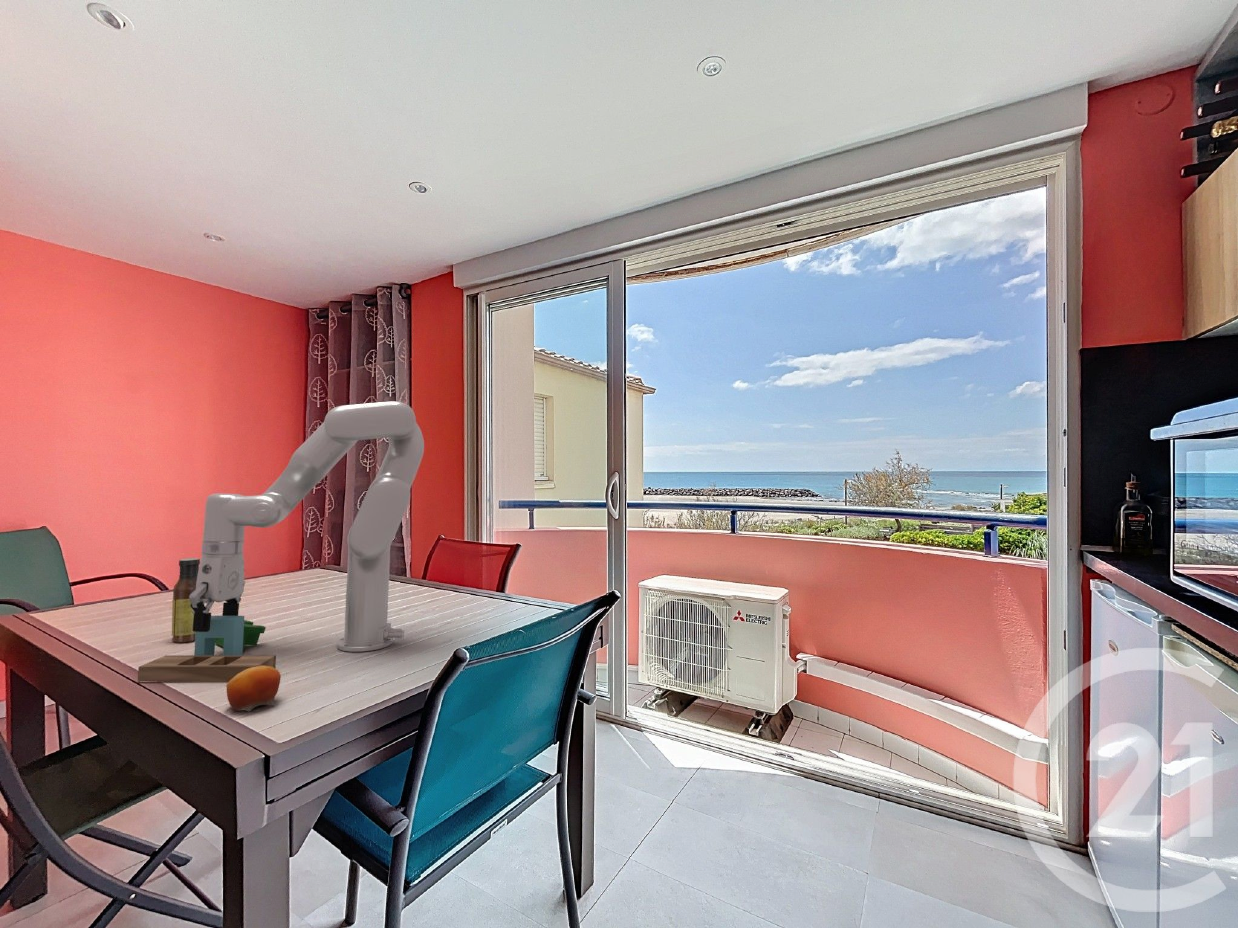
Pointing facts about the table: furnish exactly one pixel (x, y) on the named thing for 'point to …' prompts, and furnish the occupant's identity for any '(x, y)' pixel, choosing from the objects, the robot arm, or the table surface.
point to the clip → (221, 636)
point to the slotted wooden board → (201, 667)
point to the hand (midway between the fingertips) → (216, 625)
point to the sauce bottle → (184, 601)
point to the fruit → (253, 687)
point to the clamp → (247, 634)
